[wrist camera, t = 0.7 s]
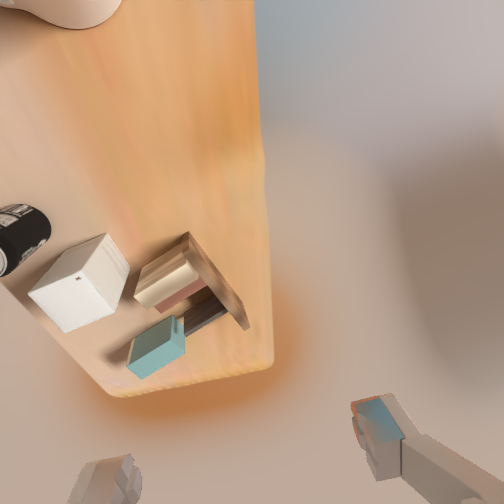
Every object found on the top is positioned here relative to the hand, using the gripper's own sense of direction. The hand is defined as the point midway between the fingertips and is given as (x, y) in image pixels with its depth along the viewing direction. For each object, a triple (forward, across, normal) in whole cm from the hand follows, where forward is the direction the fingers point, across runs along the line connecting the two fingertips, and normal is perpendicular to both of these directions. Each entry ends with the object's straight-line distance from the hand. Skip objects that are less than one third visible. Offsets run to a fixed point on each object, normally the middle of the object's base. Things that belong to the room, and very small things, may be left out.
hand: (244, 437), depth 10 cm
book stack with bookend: (+40, +9, +13) cm, 43 cm away
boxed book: (+40, +18, +21) cm, 49 cm away
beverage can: (+37, +29, -5) cm, 47 cm away
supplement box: (+38, +22, +3) cm, 44 cm away
